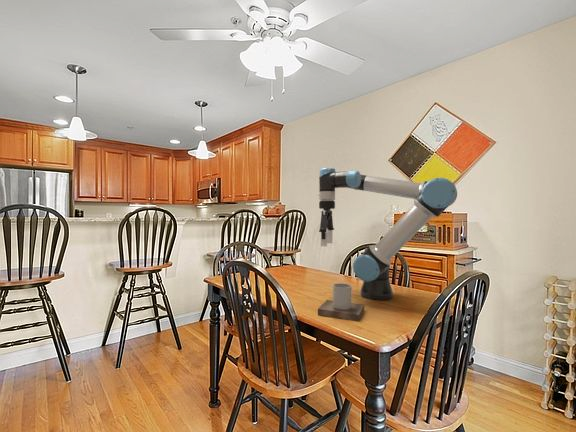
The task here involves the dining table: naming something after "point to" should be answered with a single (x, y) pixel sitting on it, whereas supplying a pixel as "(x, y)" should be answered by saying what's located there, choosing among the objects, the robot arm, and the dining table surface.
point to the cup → (342, 296)
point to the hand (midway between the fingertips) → (326, 244)
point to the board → (341, 311)
